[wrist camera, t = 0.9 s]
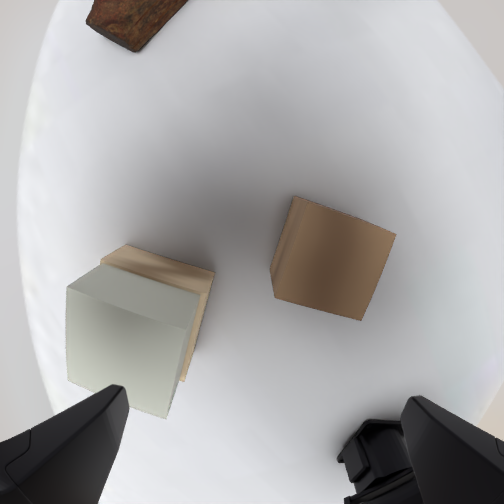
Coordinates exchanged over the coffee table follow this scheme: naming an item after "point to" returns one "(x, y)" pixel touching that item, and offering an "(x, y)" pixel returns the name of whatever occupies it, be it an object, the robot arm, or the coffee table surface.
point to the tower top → (128, 335)
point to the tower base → (167, 282)
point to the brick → (131, 19)
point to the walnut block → (329, 259)
